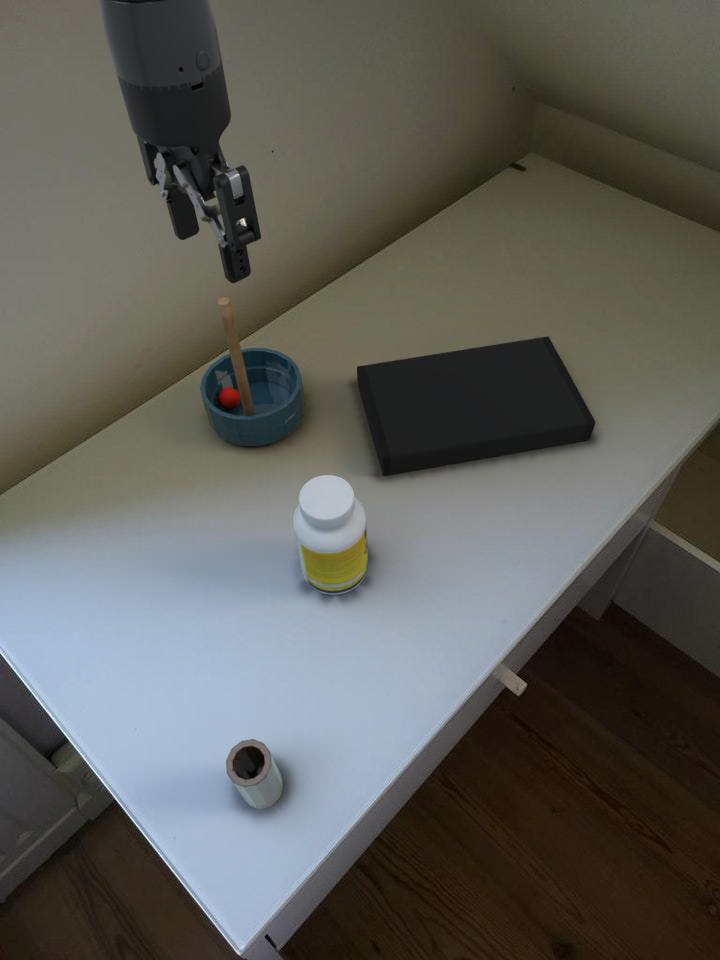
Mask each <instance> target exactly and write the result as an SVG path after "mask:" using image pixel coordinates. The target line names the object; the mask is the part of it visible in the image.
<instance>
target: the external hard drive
mask: <svg viewBox="0 0 720 960" xmlns="http://www.w3.org/2000/svg"><path fill="white" fill-rule="evenodd" d="M356 380H357V388H358V391H359V394H360V399H361V401H362V406H363V409H364V412H365V416H366V421H367V424H368V427H369V431H370V434H371V438H372V442H373V446H374V449H375V453H376V456H377V460H378V465H379V467H380V470H381V475H382V476H387V475H394V474H400V473H405V472H412V471H416V470H423V469H428V468H434V467H440V466H445V465H446V466H447V465H450V464H451V465H452V464H456V463H463V462H468V461H475V460H480V459H485V458H491V457H492V458H493V457H497V456H504V455H509V454H515V453H521V452H526V451H532V450H538V449H543V448H544V449H545V448H549V447H555V446H561V445H567V444H572V443H579V442H585V441H589V440H591V437H592V435H593V431H594V429H595V426H596V420H595V418H594V416H593V414H592V413H591V411H590V409H589V407H588V405H587V403H586V402H585V399H584V397H583V396H582V394H581V392H580V391H579V389H578V387H577V385H576V384H575V381H574V380H573V378H572V376H571V374H570V373H569V371H568V369H567V367H566V365H565V363H564V362H563V359H562V358H561V356H560V354H559V353H558V351H557V349H556V347H555V345H554V344H553V341H552V339H551V338H550V336H541V337H535V338H529V339H522V340H517V341H509V342H503V343H498V344H497V343H496V344H490V345H484V346H478V347H471V348H465V349H459V350H452V351H446V352H440V353H439V352H438V353H433V354H428V355H427V354H426V355H420V356H414V357H408V358H401V359H396V360H389V361H382V362H376V363H370V364H363V365H358V366H356Z"/></svg>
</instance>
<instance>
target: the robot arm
mask: <svg viewBox="0 0 720 960" xmlns="http://www.w3.org/2000/svg"><path fill="white" fill-rule="evenodd" d="M98 2H99V8H100V14H101V15H100V16H101V20H102V21H101V22H102V27H103V31H104V35H105V39H106V42H107V46H108V49H109V54H110V57H111V60H112V63H113V68H114V70H115V73H116V77H117V81H118V84H119V87H120V91H121V95H122V98H123V99H122V100H123V102H124V105H125V109H126V112H127V115H128V119H129V123H130V126H131V129H132V131H133V133H134V134H135V135H136V139H137V143H138V147H139V151H140V154H141V157H142V159H141V160H142V162H143V166H144V170H145V173H146V176H147V177H146V178H147V180H148V182H149V183H150V185H151V186H156V185H157V186H158V193H159V196H160V197H161V199H162V200H163V201H164V202H165V203H166V207H167V210H168V214H169V217H170V221H171V225H172V229H173V233H174V235H175V236H176V237H177V239H179V240H180V241H185V240H188V239H190V238H192V237H194V236H197V235H198V234H199V232H200V226H199V221H198V217H199V219H200V220H201V221H202V222H205V223H208V224H209V226H210V229H211V230H212V233H213V234H214V236H215V238H216V240H217V246H218V250H219V254H220V255H219V256H220V260H221V263H222V264H221V265H222V269H223V273H224V277H225V279H226V280H227V281H228V282H230V283H231V284H236V283H238V282H240V281H242V280H244V279H246V278H248V277H249V276H250V275H251V273H252V269H251V263H250V258H249V257H250V256H249V253H248V245H250V244H252V243H254V242H258V241H259V240H261V239H262V234H261V233H262V232H261V229H260V224H259V217H258V214H257V208H256V203H255V197H254V193H253V192H254V191H253V187H252V183H251V182H252V181H251V175H250V172H249V170H248V169H247V167H246V166H245V165H244V164H241V165H238V166H236V167H233V168H232V167H230V166H229V165H228V162H227V160H226V158H225V155H224V152H223V150H222V148H221V147H222V146H221V145H220V139H221V137H222V136H223V134H224V132H225V131H226V129H227V128H228V127H229V124H230V122H231V119H232V112H231V105H230V99H229V94H228V93H229V92H228V88H227V87H228V86H227V81H226V76H225V70H224V65H223V58H222V52H221V48H220V42H219V41H220V40H219V34H218V30H217V24H216V23H217V22H216V19H215V14H214V10H213V6H212V3H211V0H98ZM155 161H156V163H157V166H156V165H155ZM213 199H217V202H218V203H217V204H215V205H212V206H210V205H208V204H207V203H206V202H209V201H211V200H213ZM197 215H198V217H197ZM220 216H221V219H220V218H219V217H220ZM221 220H222V222H221ZM222 223H223V224H222Z"/></svg>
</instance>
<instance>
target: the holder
mask: <svg viewBox="0 0 720 960" xmlns="http://www.w3.org/2000/svg"><path fill="white" fill-rule="evenodd" d="M225 766H226V767H225V769H226V774H227V776H228V777H229V779H230V780H231V782H232V783H233V784H234V786H235V788H236V789H237V790H238V792H239V793H240V795H241V797H242V798H243V799H244V801H245V802H246V804H248V805H249V806H250V807H251V808H254V809H258V810H264V809H268V808H270V807H272V806H273V805H275V804H276V803H277V802H278V800H279V799H280V797H281V795H282V792H283V788H284V785H283V783H284V782H283V778H282V775H281V772H280V770H279V768H278V766H277V764H276V762H275V759H274V757H273V755H272V753H271V750H269V747H268V746H267V745H266V743H264V742H262V741H260V740H257V739H254V738H251V739H250V738H249V739H245V740H244V739H243V740H241V741H239V743H237V744H236V745H234V746H233V747H232V748H231V749H230V751H229V753H228V756H227V758H226V760H225Z"/></svg>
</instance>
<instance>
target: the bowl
mask: <svg viewBox="0 0 720 960" xmlns="http://www.w3.org/2000/svg"><path fill="white" fill-rule="evenodd" d="M241 351H242V356H243V360H244V365H245V369H246V374H247V379H248V383H249V388H250V392H251V397H252V401H253V406H254V410H255V415H253V416H245V414H244V410H243V406H242V402H241V398H240V402H239V404H238V406H236V407H235V408H233V409H227V408H224V407H223V406H222V405H221V404H220V402H219V394H220V392H221V391H222V390H223V389H225V388H233V389H235V390H236V391H237V392H238V393H239V389H238V385H237V381H236V377H235V373H234V368H233V364H232V360H231V356H230V353H227V354H225V355H223V356H221V357H219V358H218V359H217V360H215V361H214V362H213V363H212V364H211V365H209V367H208V368H207V370H206V371H205V372H204V373H203V375H202V377H201V381H200V385H199V389H200V390H199V391H200V395H201V399H202V402H203V403H202V404H203V407H204V409H205V412H206V415H207V419H208V423H209V426H210V427H211V429H212V430H213V431H214V432H215V434H216V435H217V436H218V437H220V438H221V439H223V440H225V441H226V442H227V443H231V444H234V445H238V446H243V447H260V446H265V445H269V444H274V443H275V442H277V441H279V440H282V439H283V438H285V437H287V436H289V435H290V434H291V433H292V432H293V431H294V430H295V429H296V428H298V426H299V424H300V423H301V422H302V419H303V417H304V416H305V409H306V400H305V392H304V385H303V377H302V373H301V370H300V368H299V366H298V364H297V363H295V361H294V360H293V359H292V357H290V356H288V355H286V354H284V353H283V352H281V351H279V350H275V349H271V348H266V347H248V348H244V349H241ZM239 395H240V393H239Z"/></svg>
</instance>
